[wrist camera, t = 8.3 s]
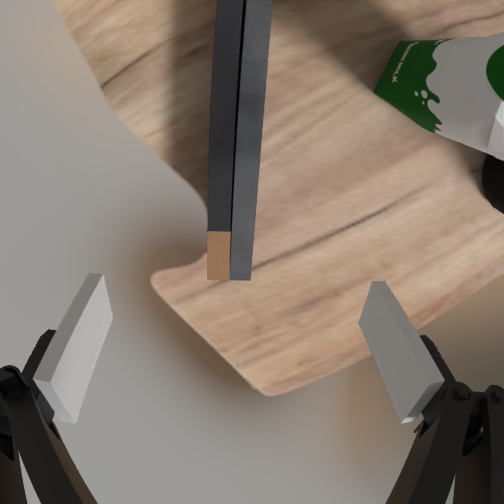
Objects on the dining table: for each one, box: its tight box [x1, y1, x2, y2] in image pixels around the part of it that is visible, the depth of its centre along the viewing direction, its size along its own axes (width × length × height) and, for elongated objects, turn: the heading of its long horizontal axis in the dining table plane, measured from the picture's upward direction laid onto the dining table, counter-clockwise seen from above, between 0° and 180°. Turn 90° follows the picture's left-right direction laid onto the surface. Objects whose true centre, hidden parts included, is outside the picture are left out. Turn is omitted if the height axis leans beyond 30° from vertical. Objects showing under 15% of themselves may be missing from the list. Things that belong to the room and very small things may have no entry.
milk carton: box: [374, 32, 504, 161], centre depth 18 cm, size 9×9×20 cm
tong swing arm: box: [207, 0, 243, 280], centre depth 27 cm, size 27×2×5 cm, turn 176°
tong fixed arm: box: [230, 0, 273, 281], centre depth 26 cm, size 32×4×5 cm, turn 176°
